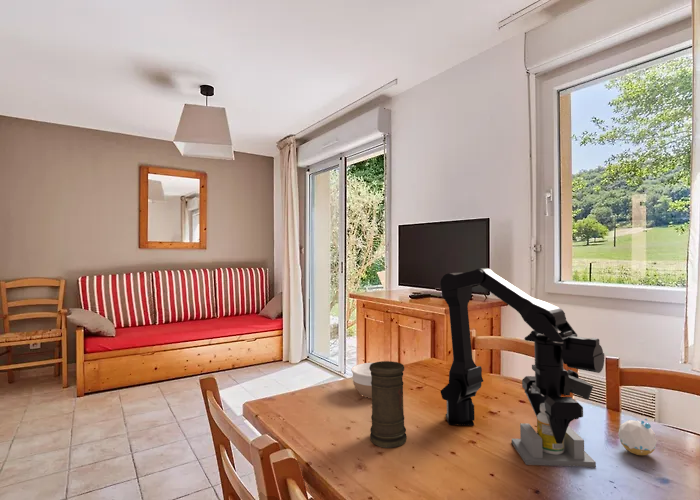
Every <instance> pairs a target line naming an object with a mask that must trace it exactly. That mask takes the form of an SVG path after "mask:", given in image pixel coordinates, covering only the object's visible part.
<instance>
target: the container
mask: <svg viewBox="0 0 700 500" xmlns="http://www.w3.org/2000/svg"><path fill="white" fill-rule="evenodd" d="M371 363H372V364H371V365H370V368H369V369H370V371H371V376H372V381H371V385H372V399H371V426H370V434H369V438H370V441H371V443H372V444H373V445H374V446H375V445H376V446H378V447H379V448H380V447H381V448H387V449H388V448H389V449H390V448H397V447H400V446H403V445H404V444H405V443H406V441H407V439H408V438H407V437H408V436H407V434H406V432H407V429H406V427H405V415H404V413H405V412H404V411H405V410H404V380H403V376H404V371H405V366H404V364H402V363H400V362H397V361H391V360H383V361H376V362H371Z"/></svg>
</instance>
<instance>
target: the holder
mask: <svg viewBox="0 0 700 500" xmlns="http://www.w3.org/2000/svg"><path fill="white" fill-rule="evenodd" d="M519 431H520V432H519V433H520V436H519V437H520V438H511V444H512V446H513V447H514V448H515V450H516V452H517V453H518V454H519V456H520V458H521V459H522V460H523V462H524V464H525V465H527V466H529V465H530V466H550V467H552V466H556V467H559V466H561V467H581V468H582V467H585V468H588V467H589V468H596V467H597V463H596V460H594V458H592V457H591V456H590V455H589V454H588V453H587V452H586V450H585V440H584V438H582V437H581V435H579V434H578V433H577V432H576V431H575V430H574V429H573V428H572V427H571V426H570V425H569V426H568V428H567V431H566V434H565V437H564V452H563V453H562V454H559V455H553V454H548V453H545V452H543V451H542V438H541V437H540V436H539V435H538V434H537V431H536V430H535V429H534V428H533V426H532V425H531V424H530V423H520V430H519Z"/></svg>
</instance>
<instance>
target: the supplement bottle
mask: <svg viewBox="0 0 700 500" xmlns="http://www.w3.org/2000/svg"><path fill="white" fill-rule="evenodd" d="M540 411H541V413H539V414H538V415H537V417H536V430H537V431H536V432H537V434H538V435H539V436H540V437H541V438H542V451H543V452H545V453H548V454H553V455H559V454H562V453H563V452H564V439H563V442H562V444H557V443H556V441H555V438H554V436H553V433H552V430H551V428H550V425H549V422H548V419H547V417H546V414H545V411H546V409H545V403H541V404H540Z"/></svg>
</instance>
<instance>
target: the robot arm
mask: <svg viewBox="0 0 700 500" xmlns="http://www.w3.org/2000/svg"><path fill="white" fill-rule="evenodd" d="M439 285H440V286H439V287H440V290H441V294H442V298H443V300H444V301H445V303H446V304H447V306H448V312H449V324H450V334H451V345H452V346H451V347H452V356H453V357H452V358H453V359H452V360H453V361H452V363H451V366H450V369H449V371H448V383H447V384H445V386H444V387H443V388H441V390H440V395H441V399H442V400H445V401H446V413H445V418H446V421H447V423H448V425H449V426H475V423H474V422H475V416H476V415H475V404H474V403H473V399H472V398H473V397H475V396H476V395H477V392H478V391H479V390H480V389H481V387H482V383H484V379H483V373H482V372H483V371H482V370H483V369H482V366H480V365H478V366H477V364H476V363H475V362H474V360H473V351H472V341H471V328H470V319H469V304H470V303H469V302H470V299H471V297H472V294H473V288H476V287H482V288H483V289H485V290H487V291H488V292H489V293H491V294H492V295H494V296H495V297H496V298H498V299H500V301H502V302H504V303H505V304H507V306H509V307H511V308H512V309H514V310H516V312H517V313H518V314H520V317H521V318H522V320H523V321H524V322H525V324H527V325H528V326H529V327H530V328H531V329H532V330H531V331H530V333H529V334H528V335H527V336H525V337H524V339H523V340H524V341H526V342H533V344H534V345H533V347H534V364H531V370H532V371H534V375H533V376H532V375H531V376H529V375H526V376H524V377H523V378H522V380H521V386H522V388H523V390H524V393H525V394H526V397H527V399H528V402H529V404H530V406H531V408H532V410H533V413H534V414H535V417H536V418H537V415H538V414H539V413H541V411H540V404H541V403H545V409H546V411H545V414H546V417H547V419H548V422H549V425H550V428H551V430H552V433H553V436H554V438H555V441H556V443H557V444H562V442H563V439H564V437H565V434H566V431H567V428H568V426H569V427H570V423H571V422H572V421H574V420H578V419H580V418H584V406H583V405H581V404H580V403H579V401H577V400H576V399H574V398H572V396H571V394H573V395H577V396H579V397H582V399H585V400H587V401H588V400H589V399H590V397H591V394H592V391H593V388H594V385H593V384H591V383H590V382H587V381H586V380H584V379H582V378H580V376H579V373H578V372H576V371H574V370H575V369H576V370H580V371H586V372H591V373H597V374H601V372H602V370H603V369H604V366H605V353H604V351H603V347H602V345H601V343H600V339H599V338H596V337H582V336H578V334H577V333H576V331H575V330H574V329H573V327H572V326H571V324H570V323H569V322H568V320H567V318H566V313H565V312H564V310H563V309H562V308H561V307H559V306H557V305H555V304H552V303H550V302H547V301H544V300H541V299H537V298H535V297H532V296H531V295H529V294H527V293H526V292H524V291H523V290H521V289H520V288H519V287H516V286H515V285H513V284H512V283H510V282H509V281H508V280H505V279H504V278H503V277H501V276H499V275H498V274H496V273H495V272H494V271H493V270H492V269H491V268H488V267H485V268H483V267H482V268H476V269H474V270H471V271H467V272H452V273H451V272H450V273H445V274H444V275H443V276H442V278H440V281H439ZM564 365H566V366H567V368H571V369H567V370H566V368H564ZM572 369H574V370H572ZM562 395H563V396H562Z"/></svg>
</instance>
